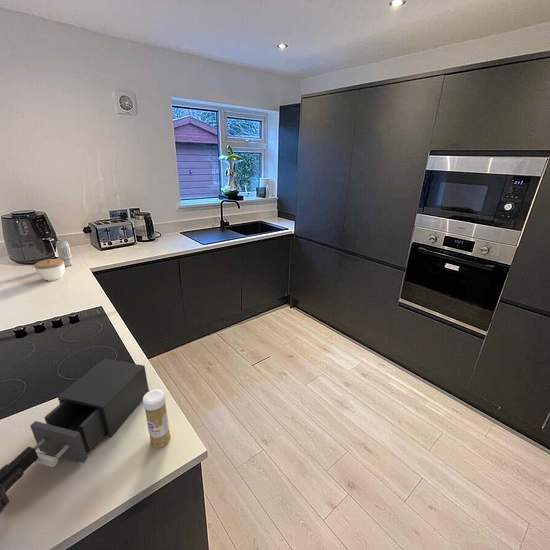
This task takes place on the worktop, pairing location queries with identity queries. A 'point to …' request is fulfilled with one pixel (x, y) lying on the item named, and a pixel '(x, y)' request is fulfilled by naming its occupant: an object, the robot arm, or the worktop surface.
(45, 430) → the drawer
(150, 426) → the sprinkles bottle
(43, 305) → the worktop surface
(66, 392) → the cabinet
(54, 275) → the lidded bowl
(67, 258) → the clear ribbed bottle
